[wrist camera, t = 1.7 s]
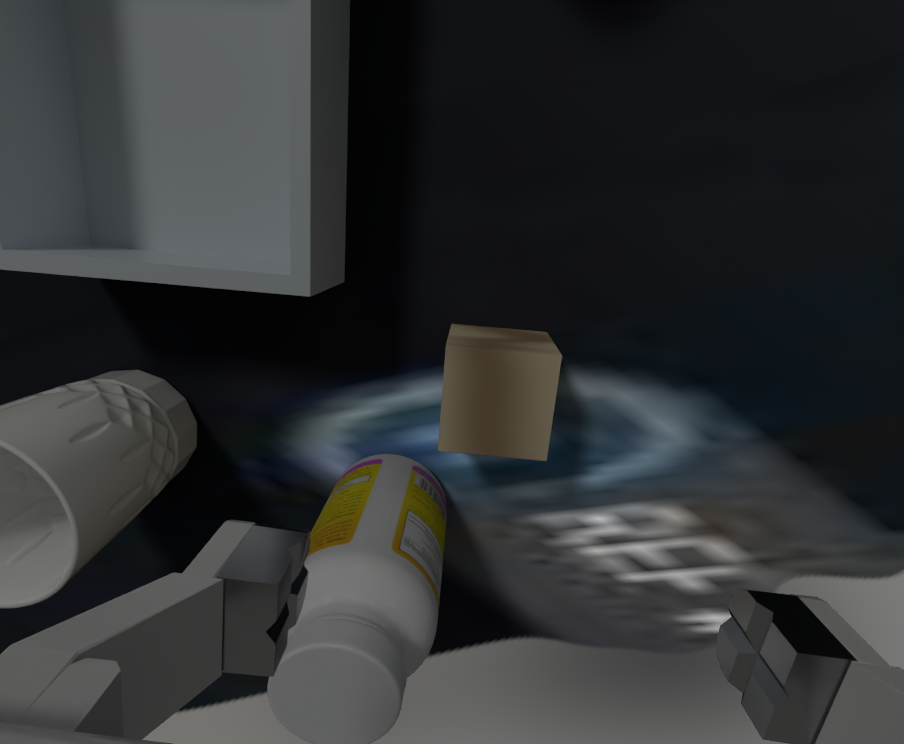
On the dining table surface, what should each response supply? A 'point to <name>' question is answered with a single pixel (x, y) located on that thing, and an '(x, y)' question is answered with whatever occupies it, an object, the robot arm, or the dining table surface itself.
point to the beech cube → (498, 392)
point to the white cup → (82, 473)
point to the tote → (176, 141)
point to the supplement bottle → (364, 603)
